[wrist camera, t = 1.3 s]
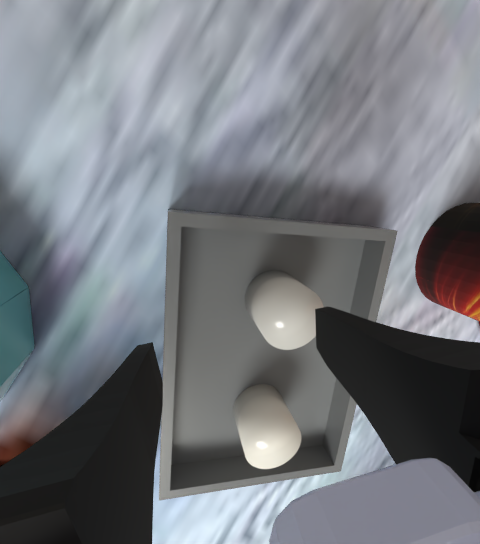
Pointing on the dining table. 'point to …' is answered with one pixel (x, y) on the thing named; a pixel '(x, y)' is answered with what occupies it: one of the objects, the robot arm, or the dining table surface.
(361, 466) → the dining table surface
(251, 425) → the stone
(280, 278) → the stone
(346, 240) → the tray
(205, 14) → the dining table surface
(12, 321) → the bowl
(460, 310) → the mug
